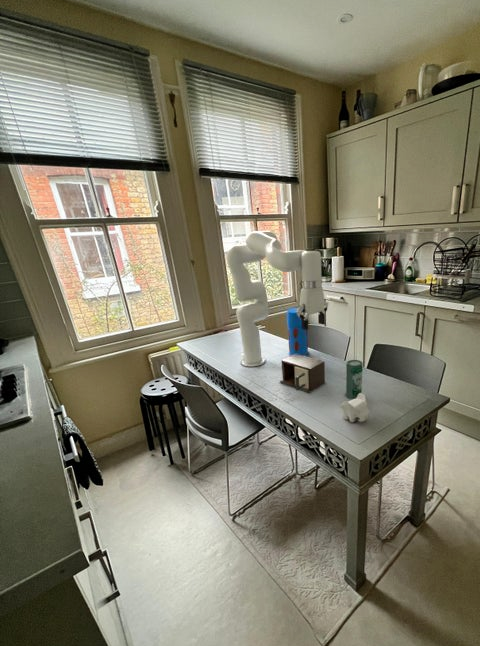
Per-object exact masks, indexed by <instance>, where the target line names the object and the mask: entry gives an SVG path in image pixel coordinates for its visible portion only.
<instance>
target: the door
mask: <svg viewBox="0 0 480 646" xmlns="http://www.w3.org/2000/svg"><path fill="white" fill-rule="evenodd" d="M294 369H295V385H296V388H295V390H296V391H300V390H299V389H301V388H302V387H303V388H306V389H309V377H308V370H305V369H302V368H299V367H296V366H295V367H294Z"/></svg>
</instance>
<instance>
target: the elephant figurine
mask: <svg viewBox="0 0 480 646" xmlns="http://www.w3.org/2000/svg"><path fill="white" fill-rule="evenodd" d="M365 395H366V394H364V393H362V392H361V393H359V394H358V396H357V398H356V399H354V398H353V399H351V400H349V401H347V400H346V401H343V402H342V403H341V405H340V408H341V411H342V415H343V416H342V417H343V418H344V419H345V420H349V422H350V423H354V422H356V419H357V420H358V422H360V423H363V422H366V420H367V419H369V415H371V417H372V418H373V417H374V416H373V414H372V412H371V411H370V410H369V409H368V402H367V398H366V396H365Z"/></svg>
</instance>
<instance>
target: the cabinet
mask: <svg viewBox="0 0 480 646" xmlns="http://www.w3.org/2000/svg"><path fill="white" fill-rule="evenodd" d="M295 366H296V367H299V368H302V369H305V370H308V377H309V389H306V388H303V387H302V388H301V389H299V390H298V391H302V392H305V393H307V394H311V393H312V392H314V391H315V390H317V389H318V388H320V387H322V386H323V385H325V384H326V361H325V360H321V359H318V358H313V357H310V356H307V355H305V356H303V355H299V354H294V355H290V356H288V357H285V358H283V359H281V372H282V373H281V375H282V379H280V380H279V381H280V384H281V385H285V386H287V387H290V388H293V389H296V385H295V369H294V367H295Z"/></svg>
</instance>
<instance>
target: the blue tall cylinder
mask: <svg viewBox="0 0 480 646" xmlns="http://www.w3.org/2000/svg"><path fill="white" fill-rule="evenodd" d="M298 308H299V307H294V308H293V307H292V308H289V309H287V310H286V323H287V325H286V326H287V340H288V351H289V352H288V353H289V355H290V356H291V355H294V354H299V355H303V356H307V355H308V353H309V339H308V337H309V336H308V330H305V329H302V323H301V319H300V318H299V317H298V315H297V313H296V310H297V309H298ZM301 314H302V313H301ZM304 317H305V315H304Z"/></svg>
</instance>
